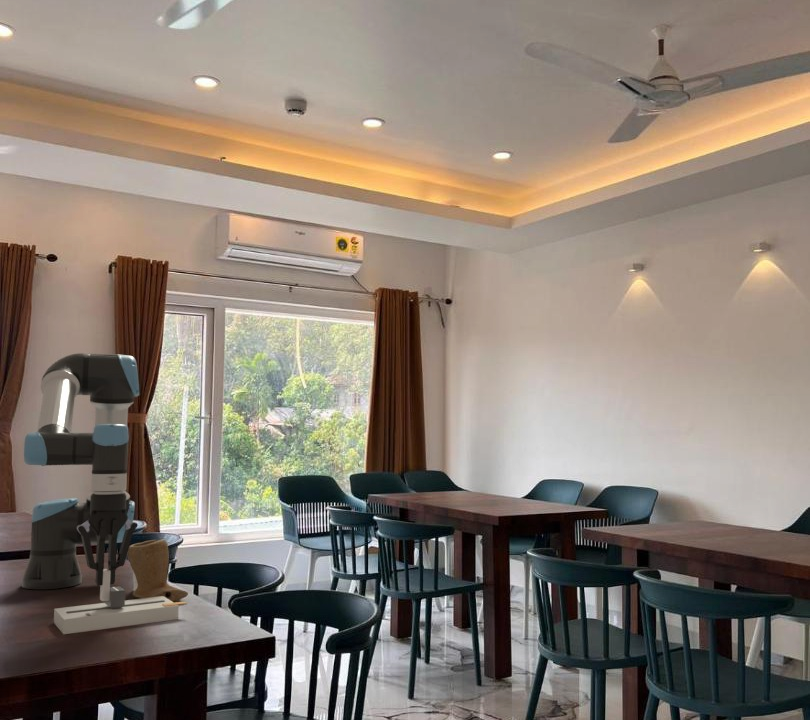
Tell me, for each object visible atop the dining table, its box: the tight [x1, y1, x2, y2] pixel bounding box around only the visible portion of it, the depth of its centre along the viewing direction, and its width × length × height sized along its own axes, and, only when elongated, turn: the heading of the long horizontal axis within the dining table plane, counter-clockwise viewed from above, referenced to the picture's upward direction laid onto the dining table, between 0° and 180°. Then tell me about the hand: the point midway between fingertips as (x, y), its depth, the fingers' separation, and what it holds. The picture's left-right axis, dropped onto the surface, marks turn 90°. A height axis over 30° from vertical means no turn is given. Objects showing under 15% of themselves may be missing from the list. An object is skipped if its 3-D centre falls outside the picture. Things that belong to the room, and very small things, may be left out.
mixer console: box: [53, 596, 187, 635], centre depth 172 cm, size 12×26×3 cm, turn 124°
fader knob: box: [104, 586, 126, 608], centre depth 171 cm, size 5×3×4 cm, turn 34°
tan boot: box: [127, 538, 189, 603], centre depth 193 cm, size 15×12×15 cm
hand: (104, 599), depth 170 cm, fingers closed
